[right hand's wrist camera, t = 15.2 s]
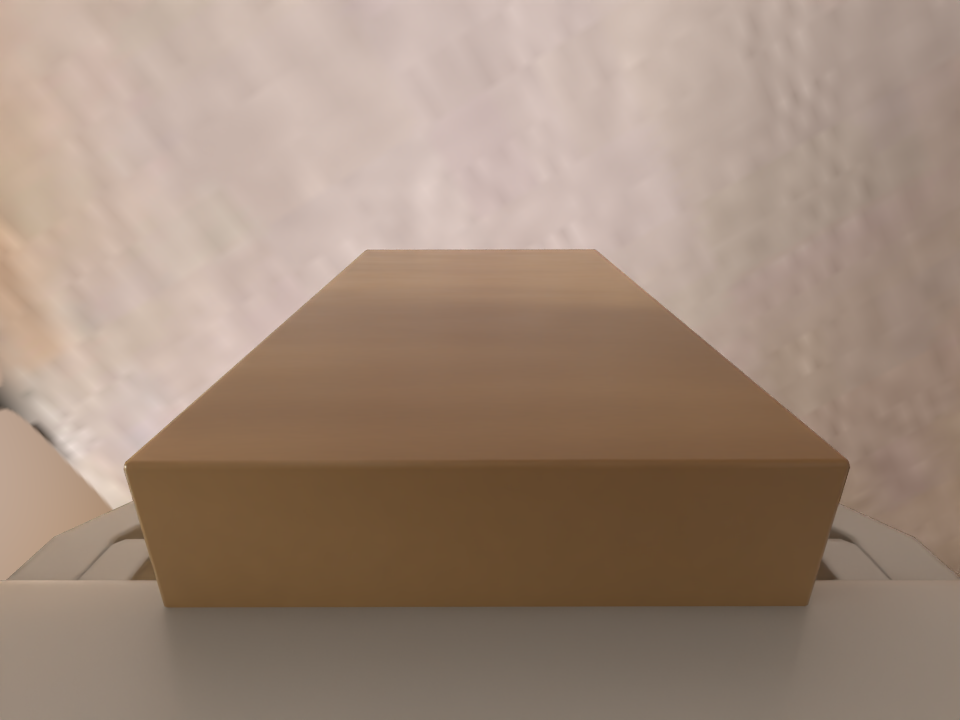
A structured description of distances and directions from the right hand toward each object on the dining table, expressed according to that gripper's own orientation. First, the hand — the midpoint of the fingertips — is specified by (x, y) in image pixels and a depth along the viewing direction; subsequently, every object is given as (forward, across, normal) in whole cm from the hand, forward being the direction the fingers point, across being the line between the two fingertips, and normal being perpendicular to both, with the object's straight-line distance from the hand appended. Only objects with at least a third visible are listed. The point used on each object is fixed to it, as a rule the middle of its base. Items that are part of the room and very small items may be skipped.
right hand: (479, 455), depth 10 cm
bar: (+4, 0, +9) cm, 10 cm away
